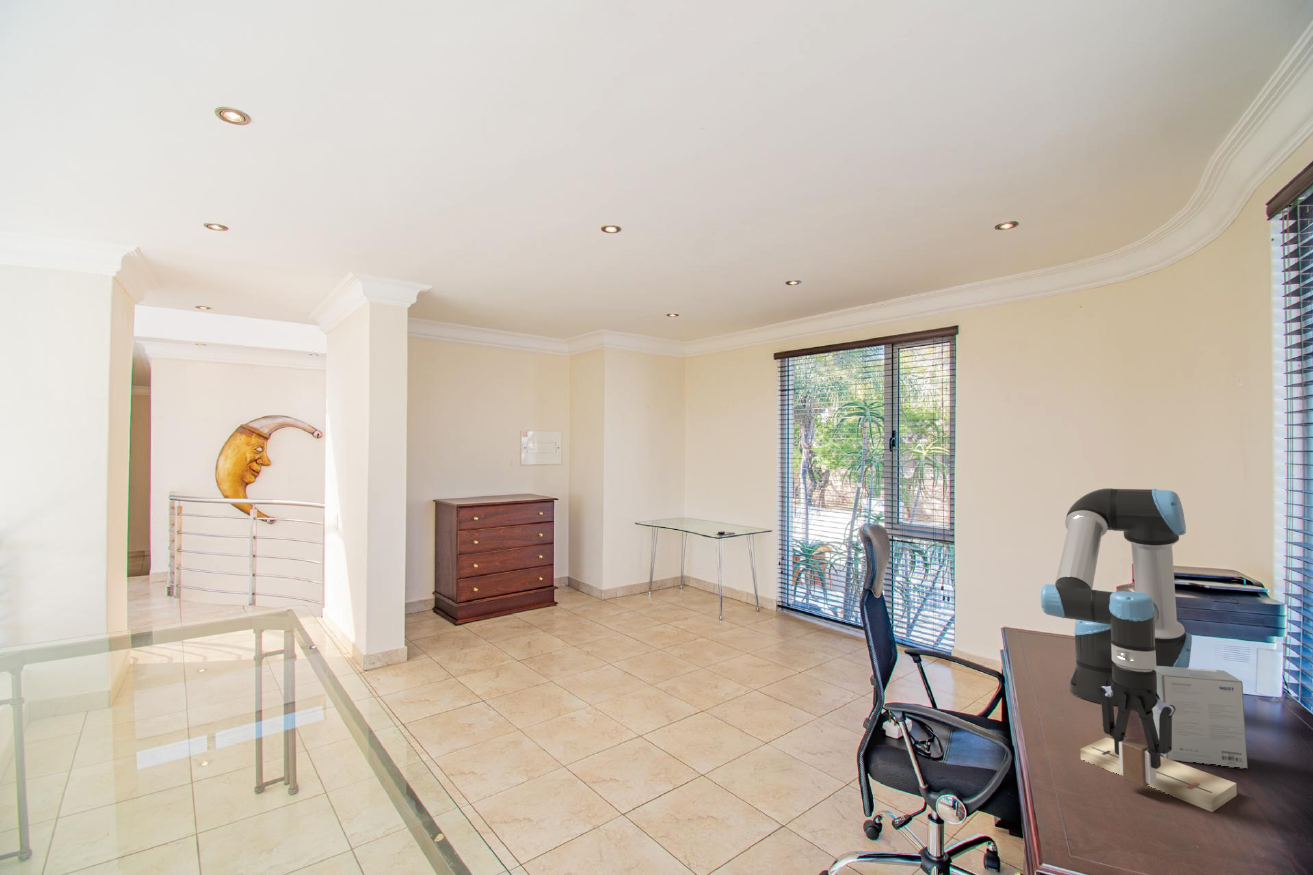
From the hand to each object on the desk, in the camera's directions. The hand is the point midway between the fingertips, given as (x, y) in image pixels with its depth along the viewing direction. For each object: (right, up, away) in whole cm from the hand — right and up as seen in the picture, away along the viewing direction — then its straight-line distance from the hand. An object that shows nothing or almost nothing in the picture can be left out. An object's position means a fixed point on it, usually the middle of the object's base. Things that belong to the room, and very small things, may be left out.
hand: (1137, 776), depth 127 cm
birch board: (+8, -3, +6) cm, 11 cm away
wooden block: (0, -1, 0) cm, 1 cm away
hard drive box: (+26, -4, +14) cm, 29 cm away
